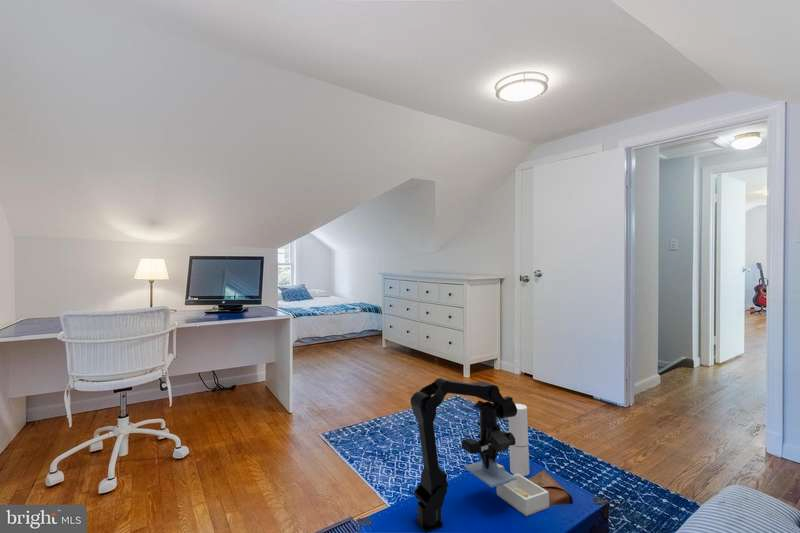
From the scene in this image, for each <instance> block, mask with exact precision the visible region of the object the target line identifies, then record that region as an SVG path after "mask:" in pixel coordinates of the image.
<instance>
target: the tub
mask: <svg viewBox="0 0 800 533" xmlns="http://www.w3.org/2000/svg"><path fill="white" fill-rule="evenodd" d="M512 475H513V476H515V477H516V480H513V481H510V483H506V484H502V485H499V486H496V495H497V496H498V497H500V499H502V500H503V501H504V502H506V503H507V504H509V505H510V506H511V507H513V508H514V509H515V510H517V511H518V512H520V513H521V514H523V515H524V516H525V517H528V516H531V515H533V514H536V513H539V512H541V511H544V510H548V509H550V505H549V492H548V491H546V490H545V489H543V488H541V487H540V486H538V485H536V484H535V483H533V482H531V481H530V480H528V479H529V478H526V477H525V476H522V475H520V474H512Z"/></svg>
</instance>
